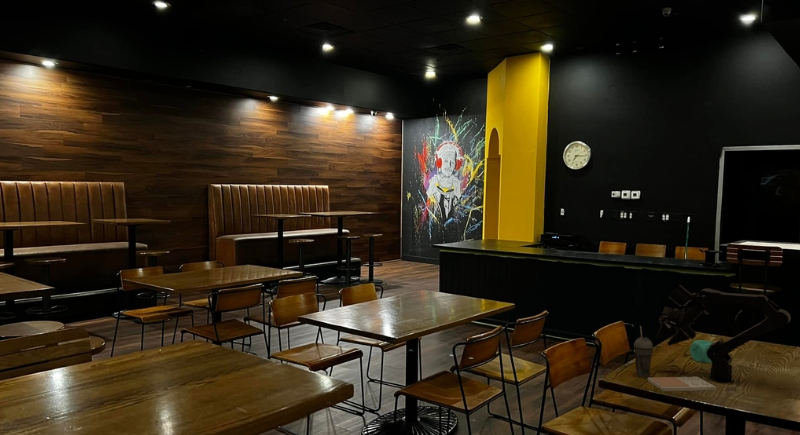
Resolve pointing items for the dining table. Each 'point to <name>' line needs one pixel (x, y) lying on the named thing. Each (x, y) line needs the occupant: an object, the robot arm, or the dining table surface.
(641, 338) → the beverage cup
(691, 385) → the baseplate
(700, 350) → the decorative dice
